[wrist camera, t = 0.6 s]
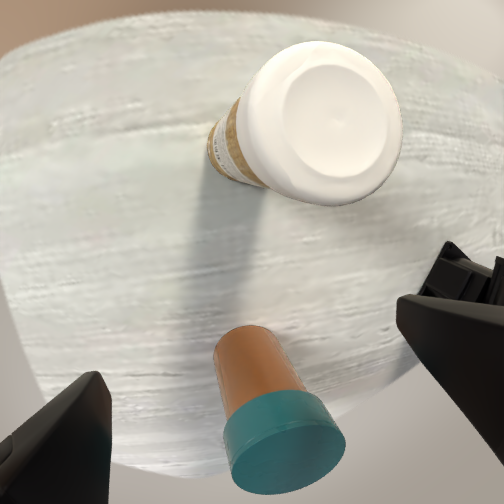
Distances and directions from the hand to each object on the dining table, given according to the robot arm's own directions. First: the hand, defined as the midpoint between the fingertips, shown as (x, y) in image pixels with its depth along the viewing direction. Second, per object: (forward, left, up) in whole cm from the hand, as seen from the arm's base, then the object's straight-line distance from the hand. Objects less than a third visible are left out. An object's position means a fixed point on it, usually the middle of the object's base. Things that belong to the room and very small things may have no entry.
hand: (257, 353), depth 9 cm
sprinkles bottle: (+1, -6, -14) cm, 15 cm away
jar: (-6, +7, -13) cm, 16 cm away
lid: (-7, +7, -5) cm, 11 cm away
